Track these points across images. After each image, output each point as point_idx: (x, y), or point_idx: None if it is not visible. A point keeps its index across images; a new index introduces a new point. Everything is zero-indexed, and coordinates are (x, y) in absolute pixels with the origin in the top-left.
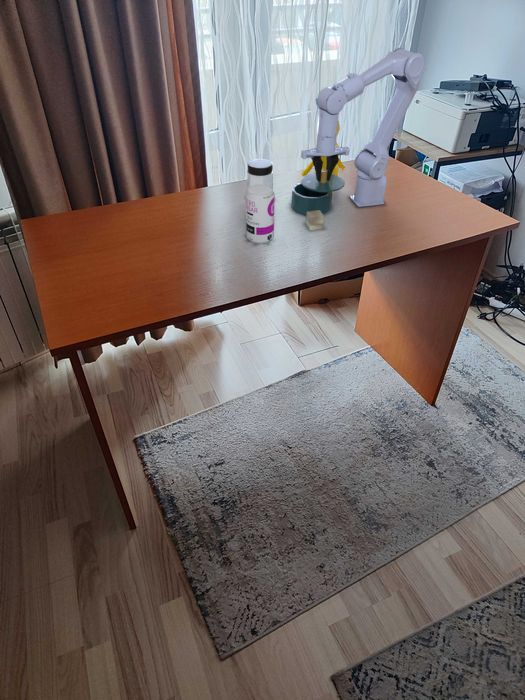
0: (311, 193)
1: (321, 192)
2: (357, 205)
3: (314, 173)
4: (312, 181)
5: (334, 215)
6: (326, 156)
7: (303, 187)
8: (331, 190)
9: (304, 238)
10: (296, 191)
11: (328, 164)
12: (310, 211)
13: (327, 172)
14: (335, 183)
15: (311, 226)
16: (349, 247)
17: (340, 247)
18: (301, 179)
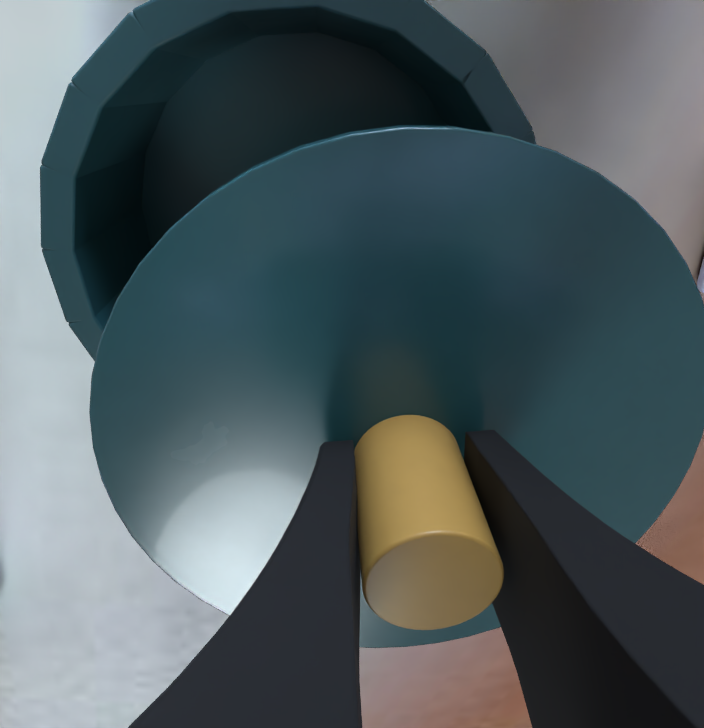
0: (348, 36)
1: (453, 111)
2: (702, 283)
3: (364, 145)
4: (261, 442)
5: None
6: (663, 702)
7: (229, 26)
8: (425, 641)
9: (191, 596)
10: (130, 107)
11: (557, 687)
12: None
13: (498, 545)
14: None
15: None
16: (403, 669)
17: (360, 666)
18: (96, 361)
